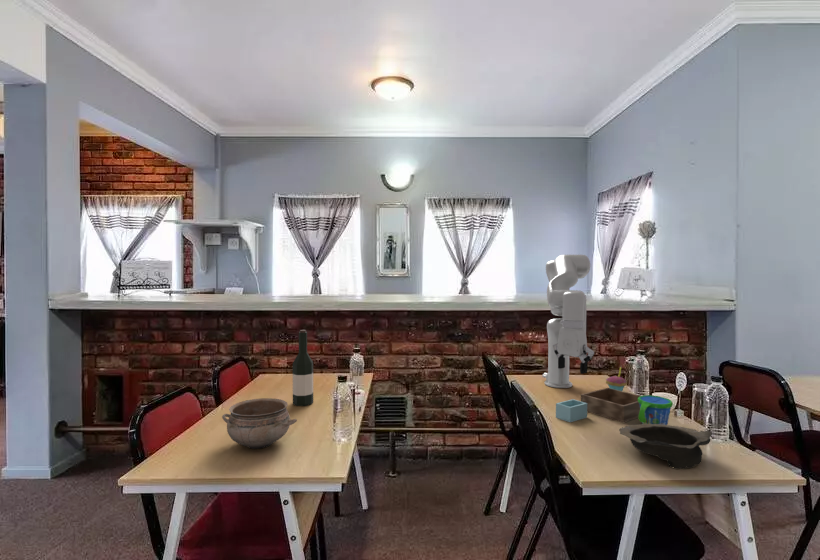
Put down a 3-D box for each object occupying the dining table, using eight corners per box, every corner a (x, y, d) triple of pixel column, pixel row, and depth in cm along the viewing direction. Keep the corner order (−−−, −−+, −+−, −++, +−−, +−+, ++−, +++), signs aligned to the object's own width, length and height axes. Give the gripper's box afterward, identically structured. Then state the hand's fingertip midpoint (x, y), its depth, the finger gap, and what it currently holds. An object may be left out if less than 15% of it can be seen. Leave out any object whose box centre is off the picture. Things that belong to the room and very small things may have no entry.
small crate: (555, 417, 171) (555, 403, 171) (572, 413, 177) (572, 399, 177) (570, 422, 166) (570, 407, 166) (587, 417, 172) (587, 403, 171)
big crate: (580, 409, 181) (580, 394, 181) (607, 402, 191) (608, 387, 191) (623, 422, 166) (623, 406, 166) (650, 413, 176) (650, 398, 176)
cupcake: (622, 389, 210) (623, 363, 209) (629, 395, 201) (630, 367, 201) (603, 389, 211) (603, 363, 210) (609, 394, 202) (609, 367, 202)
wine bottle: (288, 404, 185) (288, 331, 184) (300, 399, 193) (300, 328, 192) (305, 407, 182) (305, 332, 181) (317, 401, 190) (317, 329, 189)
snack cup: (652, 436, 152) (653, 406, 152) (625, 426, 162) (626, 398, 162) (683, 429, 159) (683, 400, 159) (655, 420, 169) (656, 392, 168)
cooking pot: (308, 436, 151) (308, 400, 151) (282, 460, 133) (281, 419, 132) (239, 431, 156) (239, 395, 156) (204, 453, 137) (204, 413, 137)
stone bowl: (716, 482, 120) (714, 447, 120) (614, 467, 133) (612, 435, 133) (713, 449, 141) (711, 419, 141) (625, 438, 154) (623, 411, 154)
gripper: (547, 323, 175) (546, 367, 176) (587, 328, 161) (586, 376, 161) (560, 321, 180) (559, 365, 180) (600, 326, 165) (599, 373, 166)
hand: (572, 370), depth 171 cm, fingers open, 9 cm apart
